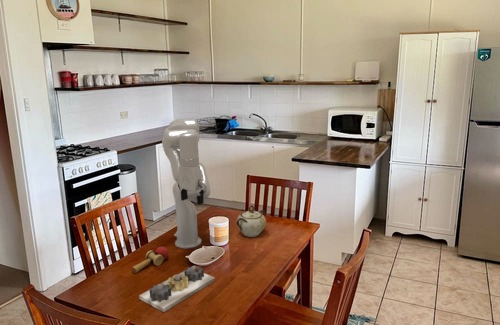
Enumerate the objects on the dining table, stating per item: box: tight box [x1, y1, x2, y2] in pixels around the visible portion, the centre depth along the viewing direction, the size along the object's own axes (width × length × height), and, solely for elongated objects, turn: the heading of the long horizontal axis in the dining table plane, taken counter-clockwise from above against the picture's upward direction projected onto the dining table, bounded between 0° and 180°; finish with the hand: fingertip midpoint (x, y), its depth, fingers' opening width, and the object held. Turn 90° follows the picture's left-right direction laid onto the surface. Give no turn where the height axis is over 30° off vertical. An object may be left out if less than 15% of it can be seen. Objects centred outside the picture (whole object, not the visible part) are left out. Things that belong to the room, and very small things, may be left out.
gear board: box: [138, 265, 216, 313], centre depth 152 cm, size 14×26×6 cm, turn 141°
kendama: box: [131, 246, 169, 274], centre depth 173 cm, size 8×6×18 cm
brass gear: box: [167, 274, 188, 291], centre depth 152 cm, size 7×7×3 cm
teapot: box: [236, 205, 267, 238], centre depth 201 cm, size 20×15×15 cm
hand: (192, 201), depth 167 cm, fingers open, 9 cm apart
